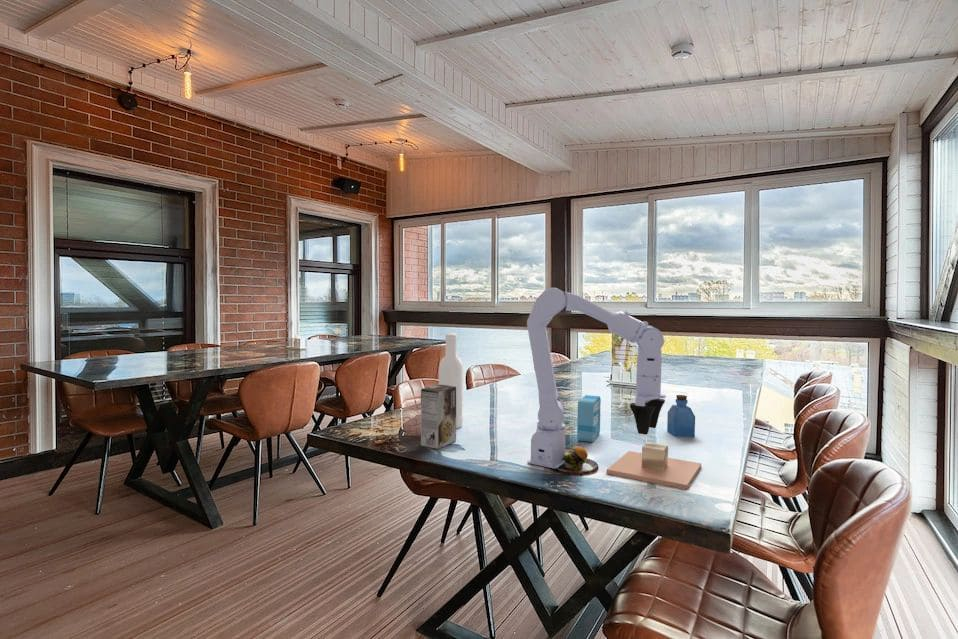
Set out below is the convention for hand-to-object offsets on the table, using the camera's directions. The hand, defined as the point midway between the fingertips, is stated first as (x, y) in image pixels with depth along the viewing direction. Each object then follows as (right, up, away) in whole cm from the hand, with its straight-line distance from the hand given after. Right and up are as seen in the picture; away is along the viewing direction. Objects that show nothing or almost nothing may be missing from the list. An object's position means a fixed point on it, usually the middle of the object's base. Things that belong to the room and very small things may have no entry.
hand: (647, 430), depth 124 cm
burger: (-18, -10, +1) cm, 21 cm away
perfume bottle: (+22, -9, +33) cm, 41 cm away
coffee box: (-53, -8, +20) cm, 57 cm away
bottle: (-51, -8, +40) cm, 65 cm away
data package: (-8, -9, +28) cm, 30 cm away
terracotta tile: (+1, -9, -1) cm, 10 cm away
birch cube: (+1, -8, -1) cm, 9 cm away
